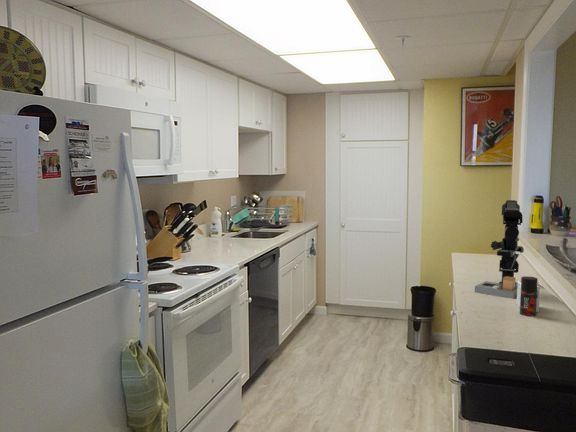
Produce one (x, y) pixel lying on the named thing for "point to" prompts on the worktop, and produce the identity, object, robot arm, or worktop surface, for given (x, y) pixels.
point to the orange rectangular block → (509, 283)
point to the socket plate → (495, 289)
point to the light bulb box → (520, 295)
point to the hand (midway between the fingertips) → (509, 269)
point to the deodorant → (528, 296)
